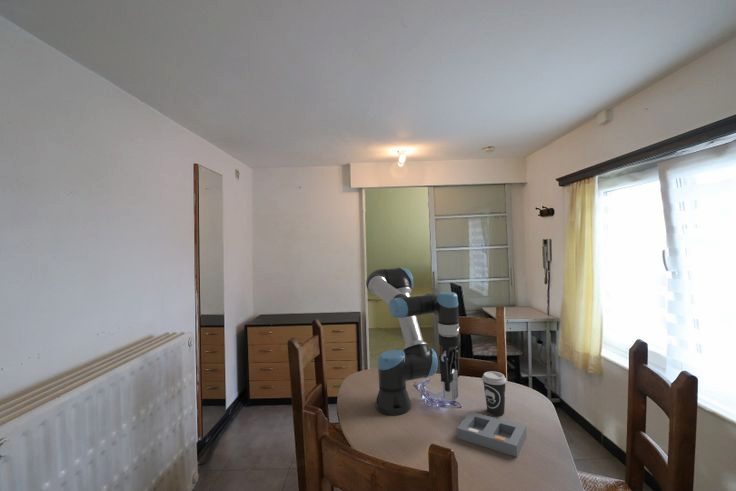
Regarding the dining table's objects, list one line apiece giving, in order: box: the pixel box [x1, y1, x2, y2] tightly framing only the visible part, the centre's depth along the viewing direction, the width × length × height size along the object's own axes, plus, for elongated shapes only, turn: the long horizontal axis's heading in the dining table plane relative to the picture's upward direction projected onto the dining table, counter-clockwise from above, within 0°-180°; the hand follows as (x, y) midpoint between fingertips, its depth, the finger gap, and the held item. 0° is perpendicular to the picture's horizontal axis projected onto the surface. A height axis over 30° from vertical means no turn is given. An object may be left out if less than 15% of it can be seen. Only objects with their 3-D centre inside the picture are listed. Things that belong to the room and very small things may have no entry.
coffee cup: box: [481, 370, 507, 417], centre depth 135 cm, size 10×10×15 cm
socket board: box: [456, 411, 528, 458], centre depth 118 cm, size 20×14×4 cm
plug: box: [442, 368, 459, 402], centre depth 124 cm, size 4×4×11 cm
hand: (451, 396), depth 124 cm, fingers closed on plug, 4 cm apart
